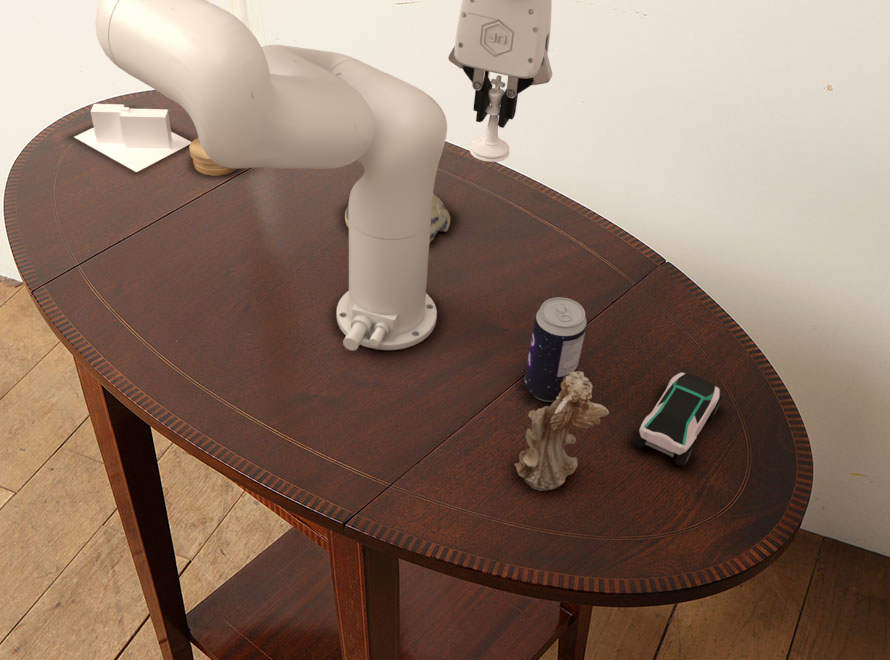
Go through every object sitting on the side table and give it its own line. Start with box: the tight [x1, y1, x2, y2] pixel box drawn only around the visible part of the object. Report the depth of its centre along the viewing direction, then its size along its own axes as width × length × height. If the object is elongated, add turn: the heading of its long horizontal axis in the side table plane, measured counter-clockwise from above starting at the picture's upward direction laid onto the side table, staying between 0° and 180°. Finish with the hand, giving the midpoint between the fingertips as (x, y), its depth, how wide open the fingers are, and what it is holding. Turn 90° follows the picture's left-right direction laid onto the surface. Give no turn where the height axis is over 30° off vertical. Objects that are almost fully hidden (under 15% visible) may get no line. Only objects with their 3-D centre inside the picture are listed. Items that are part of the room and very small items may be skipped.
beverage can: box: [523, 296, 588, 403], centre depth 112 cm, size 6×6×12 cm
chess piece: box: [469, 74, 510, 163], centre depth 119 cm, size 5×5×10 cm
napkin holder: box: [74, 103, 192, 173], centre depth 151 cm, size 15×11×6 cm
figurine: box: [513, 370, 610, 492], centre depth 101 cm, size 7×6×15 cm
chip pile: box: [188, 136, 238, 177], centre depth 148 cm, size 8×8×3 cm
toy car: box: [633, 372, 723, 468], centre depth 110 cm, size 6×12×5 cm, turn 146°
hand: (493, 118), depth 119 cm, fingers closed on chess piece
